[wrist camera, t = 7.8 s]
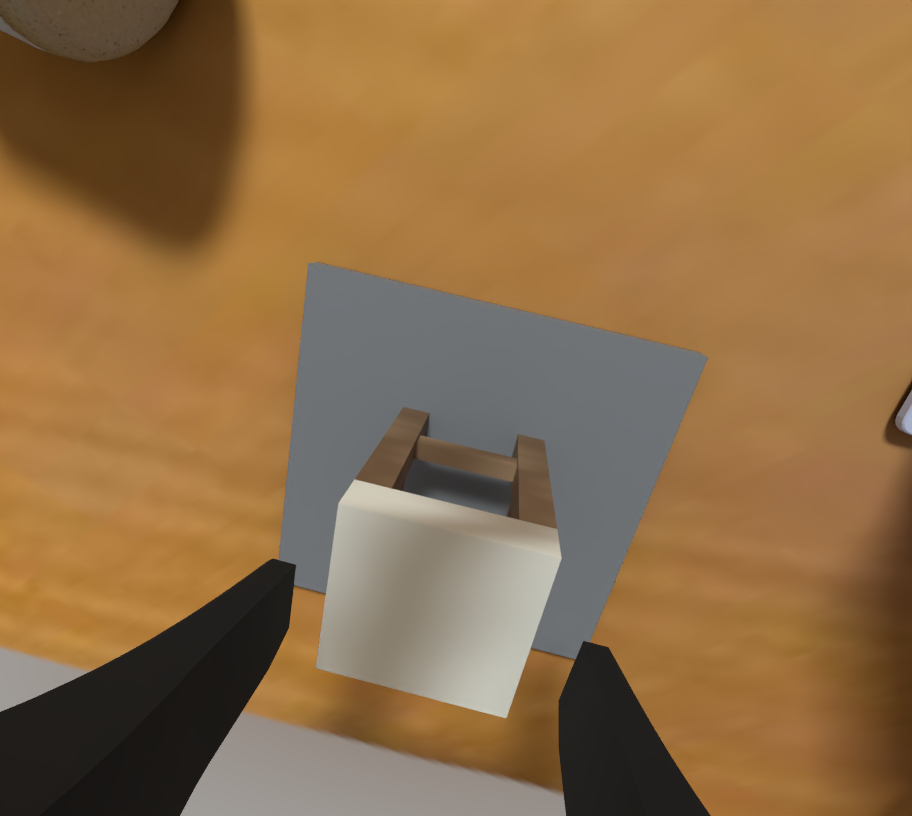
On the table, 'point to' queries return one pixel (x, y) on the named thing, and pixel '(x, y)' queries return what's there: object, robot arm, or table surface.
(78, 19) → the ceramic mug
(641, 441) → the mat
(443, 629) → the stool
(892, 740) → the table surface
